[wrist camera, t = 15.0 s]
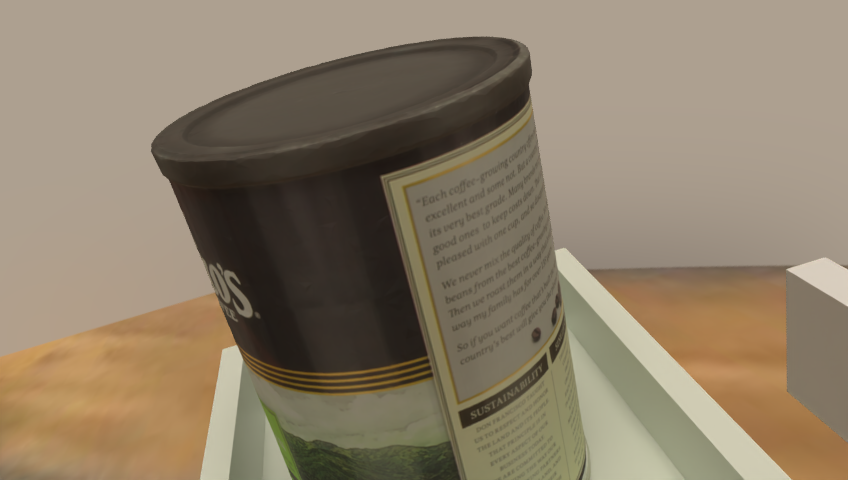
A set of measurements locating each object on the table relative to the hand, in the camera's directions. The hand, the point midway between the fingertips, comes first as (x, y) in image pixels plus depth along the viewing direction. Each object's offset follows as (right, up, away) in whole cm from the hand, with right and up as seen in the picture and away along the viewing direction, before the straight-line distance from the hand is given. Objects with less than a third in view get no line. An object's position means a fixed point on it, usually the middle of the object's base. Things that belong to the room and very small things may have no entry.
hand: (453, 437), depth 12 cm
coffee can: (0, -5, +12) cm, 13 cm away
